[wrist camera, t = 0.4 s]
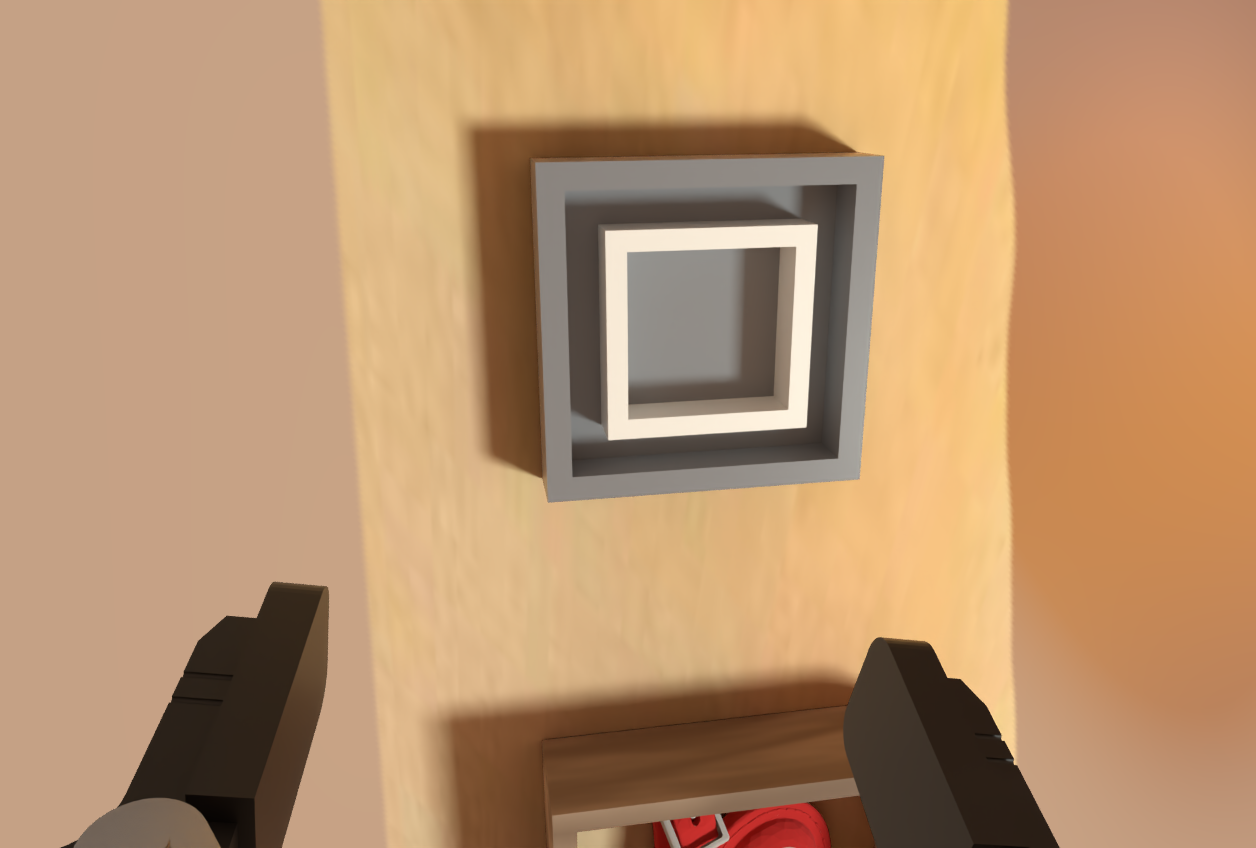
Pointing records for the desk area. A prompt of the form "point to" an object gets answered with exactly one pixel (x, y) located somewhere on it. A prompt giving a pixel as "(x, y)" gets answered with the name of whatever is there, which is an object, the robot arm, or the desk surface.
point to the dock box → (702, 319)
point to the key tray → (692, 771)
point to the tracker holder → (747, 829)
